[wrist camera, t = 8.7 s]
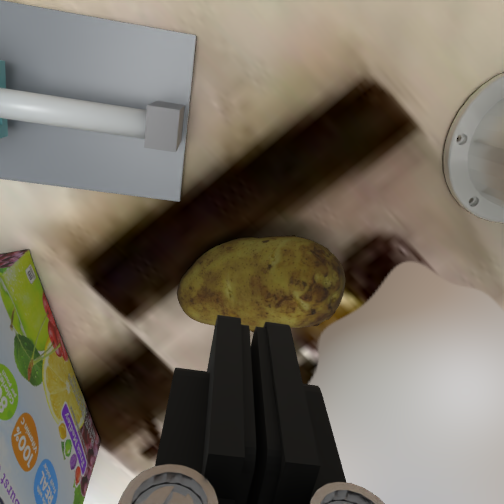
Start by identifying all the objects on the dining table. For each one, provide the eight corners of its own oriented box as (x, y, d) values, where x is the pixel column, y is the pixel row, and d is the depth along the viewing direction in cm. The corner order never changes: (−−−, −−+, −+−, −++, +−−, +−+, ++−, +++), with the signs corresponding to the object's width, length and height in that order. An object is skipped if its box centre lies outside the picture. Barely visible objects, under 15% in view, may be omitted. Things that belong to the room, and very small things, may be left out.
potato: (182, 213, 36) (174, 248, 29) (332, 224, 38) (362, 260, 31) (177, 302, 39) (170, 354, 32) (317, 309, 41) (340, 361, 34)
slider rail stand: (196, 36, 32) (192, 25, 25) (180, 197, 36) (173, 225, 29) (-141, -24, 29) (-250, -55, 22) (-115, 159, 33) (-200, 180, 26)
